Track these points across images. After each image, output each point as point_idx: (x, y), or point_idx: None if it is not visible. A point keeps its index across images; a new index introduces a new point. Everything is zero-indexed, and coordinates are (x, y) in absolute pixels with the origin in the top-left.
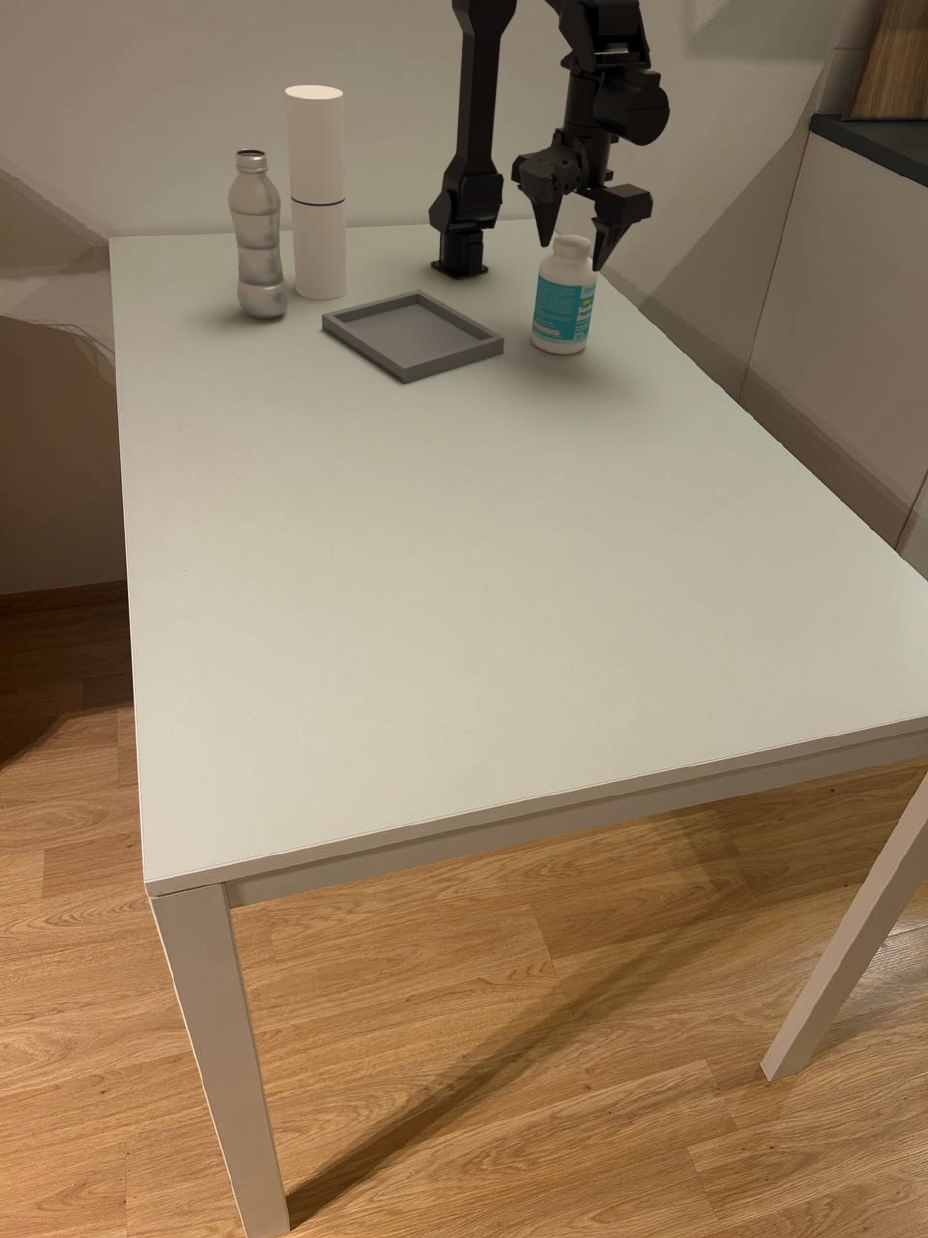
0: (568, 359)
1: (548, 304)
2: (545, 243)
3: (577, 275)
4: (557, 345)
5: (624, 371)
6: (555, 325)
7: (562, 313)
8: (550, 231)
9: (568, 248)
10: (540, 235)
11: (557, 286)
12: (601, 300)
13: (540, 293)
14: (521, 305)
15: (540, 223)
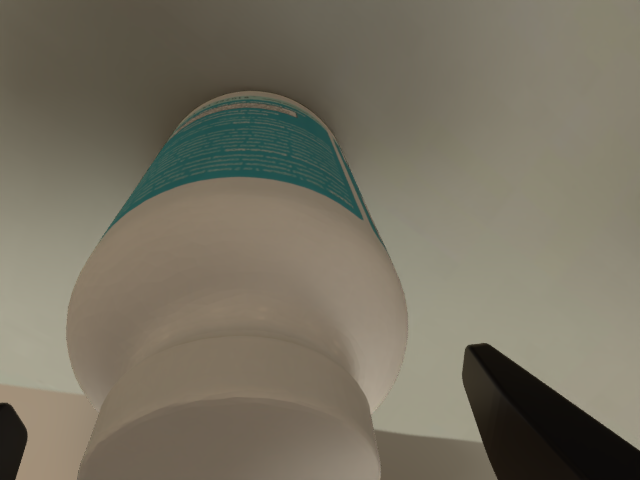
0: (150, 141)
1: (201, 142)
2: (471, 372)
3: (69, 318)
4: (176, 128)
5: (26, 242)
6: (174, 137)
7: (146, 172)
8: (502, 460)
9: (119, 417)
10: (521, 386)
11: (145, 197)
12: (413, 405)
13: (266, 146)
14: (517, 233)
15: (582, 463)
